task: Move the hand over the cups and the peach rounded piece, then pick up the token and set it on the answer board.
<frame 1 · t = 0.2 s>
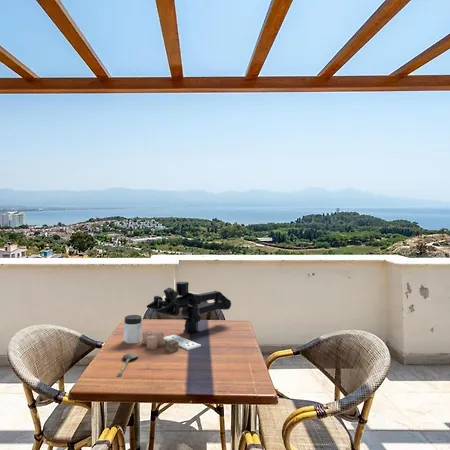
hand: (152, 308, 185), 17 cm above the table, tool horizontal, fingers open, 9 cm apart
soupspoon: (126, 366, 158), on the table
cup a: (158, 344, 184), on the table
token: (172, 350, 176), on the table
cup c: (152, 347, 179), on the table
peach rounded piece b: (147, 342, 185), on the table
answer board: (180, 342, 186), on the table
jar: (132, 341, 188), on the table
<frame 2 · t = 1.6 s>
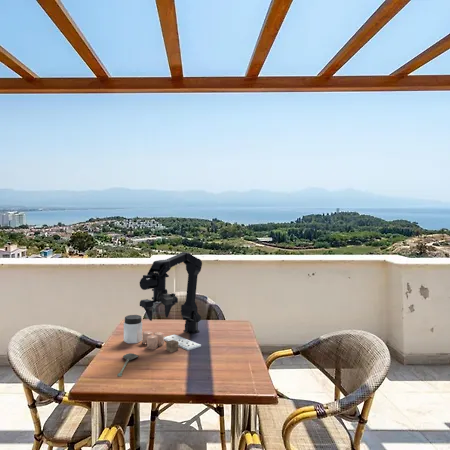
hand: (158, 319, 184), 12 cm above the table, tool pointing down, fingers open, 9 cm apart
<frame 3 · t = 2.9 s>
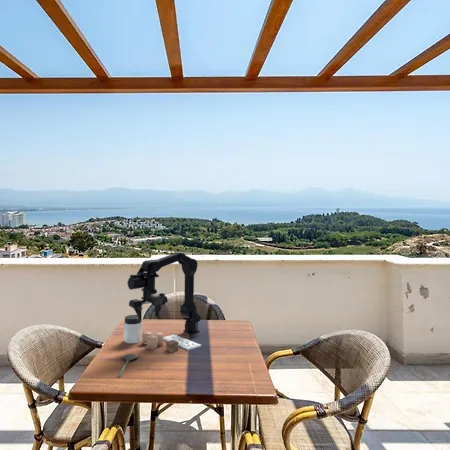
hand: (148, 318, 184), 12 cm above the table, tool pointing down, fingers open, 9 cm apart
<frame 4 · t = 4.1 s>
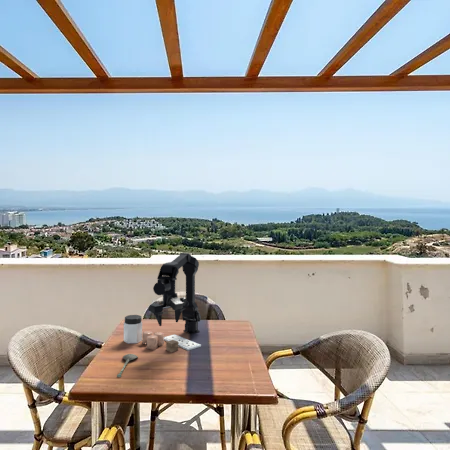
hand: (168, 324, 176), 12 cm above the table, tool pointing down, fingers open, 9 cm apart
nothing on the table moved.
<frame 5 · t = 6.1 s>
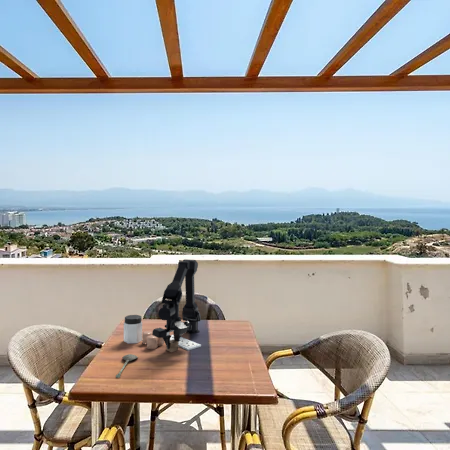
hand: (172, 347, 176), 1 cm above the table, tool pointing down, fingers closed on token, 4 cm apart
token: (172, 350, 176), on the table, touching gripper
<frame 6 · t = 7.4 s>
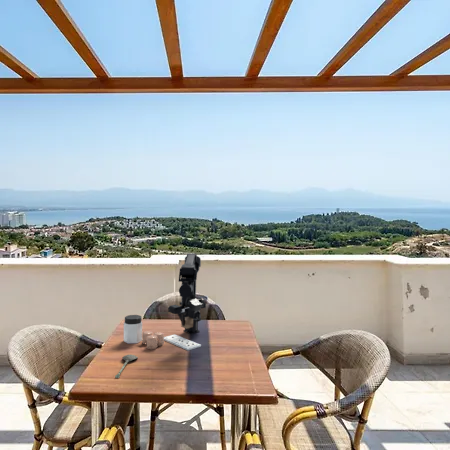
hand: (187, 324, 181), 11 cm above the table, tool pointing down, fingers closed on token, 4 cm apart
token: (187, 326, 181), point 10 cm above the table, touching gripper
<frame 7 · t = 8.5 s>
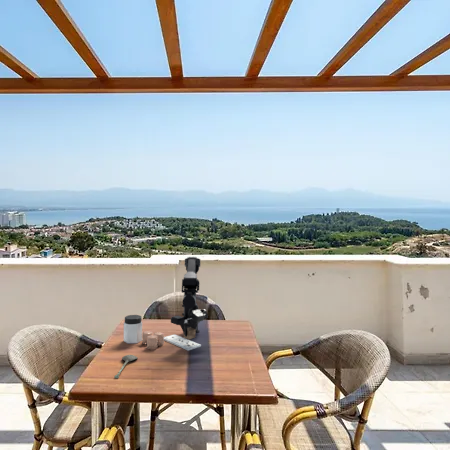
hand: (189, 335, 181), 5 cm above the table, tool pointing down, fingers closed on token, 4 cm apart
token: (189, 337, 181), point 4 cm above the table, touching gripper
when the fingers open (3 cm above the table, at t = 9.2 s): token drops 1 cm, resting on answer board.
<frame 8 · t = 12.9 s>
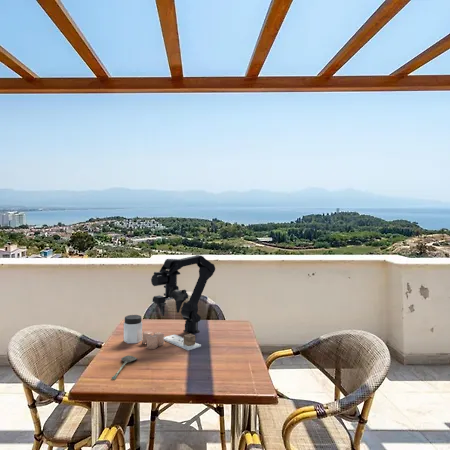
hand: (170, 314, 193), 12 cm above the table, tool pointing down, fingers open, 9 cm apart
soupspoon: (123, 369, 155), on the table
token: (189, 343, 181), point 1 cm above the table, touching answer board
everything else where it was.
at the end: token 0.0 cm from the target spot on the answer board, point 1.2 cm above the answer board's base; the gripper is holding nothing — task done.
